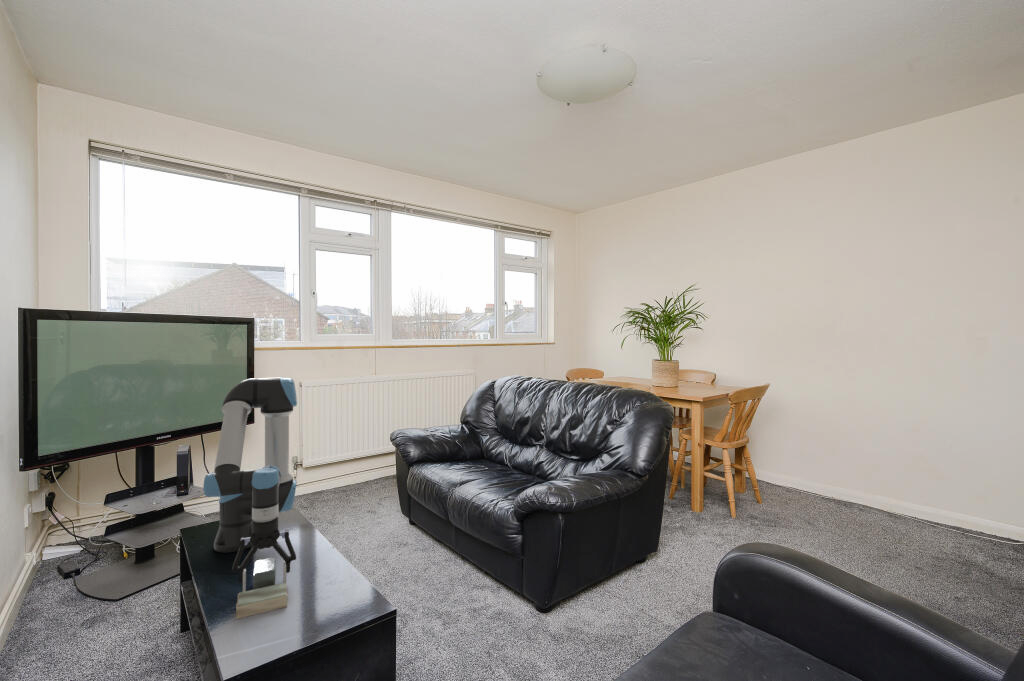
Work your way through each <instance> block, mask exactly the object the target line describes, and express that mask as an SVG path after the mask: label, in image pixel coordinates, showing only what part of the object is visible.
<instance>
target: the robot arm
mask: <svg viewBox="0 0 1024 681" xmlns="http://www.w3.org/2000/svg"><path fill="white" fill-rule="evenodd" d="M296 389H297V388H296V384H295V381H294V379H293V378H291V377H282V376H281V377H260V378H258V377H257V378H256V377H254V378H251V377H250V378H247V379H244V380H242V381H240V382H238V383H236V384H235V385H234V386H233V387H232V388H231V389H230V390H229V391H228V393H227V394H226V395H225V397H224V399H223V402H222V405H221V406H222V407H221V412H222V413H223V419H222V425H221V429H220V430H221V431H220V435H219V442H218V448H217V453H216V458H215V465H214V470H213V472H210V473H207V474H205V477H204V479H203V494H204V496H205V497H207V498H219V499H218V500H219V501H218V503H219V528H218V530H217V533H216V536H215V539H214V542H213V549H214V551H215V552H217V553H224V554H225V553H233V552H234V553H235V552H237V554H236V556H235V559H234V562H233V564H232V566H231V567H232V568H231V572H232V573H237V574H238V583H242V592H245V591H247V584H246V583H247V568H246V567H247V566H248V564H249V563H250V561H251V560H252V558H253V557H254V555H255V553H256V552H257V551H258V550H263V549H268V548H273V549H274V550H275V551H276V552H277V554H278V555H280V557H281V559H283V565H282V566H283V569H282V570H283V574H282V575H283V577H282V578H283V580H282V581H283V582H282V583H286V584H287V574H288V573H290V572H291V562H292V561H296V560H297V554H296V551H295V549H294V547H293V544H292V542H291V539H290V532H289V529H285V530H284V531H280V530H279V513H280V514H281V513H284V512H289V511H291V510H292V509H293V507H294V503H295V497H296V495H295V494H296V490H297V489H296V488H297V482H298V481H297V480H295V479H294V476H293V475H292V474H291V473H290V471H289V470H290V466H289V465H290V461H289V459H290V449H289V448H290V445H289V444H290V415H291V413H293V411H294V407H297V406H298V399H297V398H298V397H297V390H296ZM252 409H260V414H262V415H263V416H264V467H262V468H256V469H246V470H241V468H242V459H243V452H244V446H245V445H244V443H245V437H246V431H247V430H246V429H247V421H248V416H249V414H250V413H251V412H252ZM280 537H281V538H282V539H284V542H285V544H286V547H287V550H288V552H289V554H288V553H287V552H286V551H285V549H284V548H283V547H282V546H281V544H280V543H279V542H278V541H277V540H278V539H279V538H280ZM249 548H250V550H249V552H248V553H247V555H246V556H245V557H244V559H243V561H242V563H241V564H240V561H241V558H242V555H243V553H244V551H245V550H247V549H249ZM289 555H290V556H289ZM239 564H240V565H239Z"/></svg>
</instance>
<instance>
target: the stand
mask: <svg viewBox="0 0 1024 681" xmlns="http://www.w3.org/2000/svg"><path fill="white" fill-rule="evenodd" d="M236 600H237V601H236V605H235V607H236V609H235V611H236V612H235V619H241V618H242V619H243V618H245V617H250V616H253V615H258V614H262V613H267V612H271V611H273V610H274V611H275V610H278V609H279V610H280V609H283V608H286V607H288V587H287V582H286V583H283V582H282V583H278V584H275V585H272V586H268V587H263V588H258V589H254V590H253V589H250V590H246V591H245V592H243V591H240V592H239V593H237V599H236Z"/></svg>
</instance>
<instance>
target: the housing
mask: <svg viewBox="0 0 1024 681" xmlns="http://www.w3.org/2000/svg"><path fill="white" fill-rule="evenodd" d="M276 560H277V558H276V557H274V556H273V557H268V558H262V559H258V560H257V559H256V560H255V561H254V566H253V567H254V568H253V575H252V577H253V578H252V581H253V582H252V583H253V585H252V588H253V589H252V590H254V589H258V588H263V587H268V586H272V585H276V573H277V572H276V570H277V568H276V564H277V562H276Z"/></svg>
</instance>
